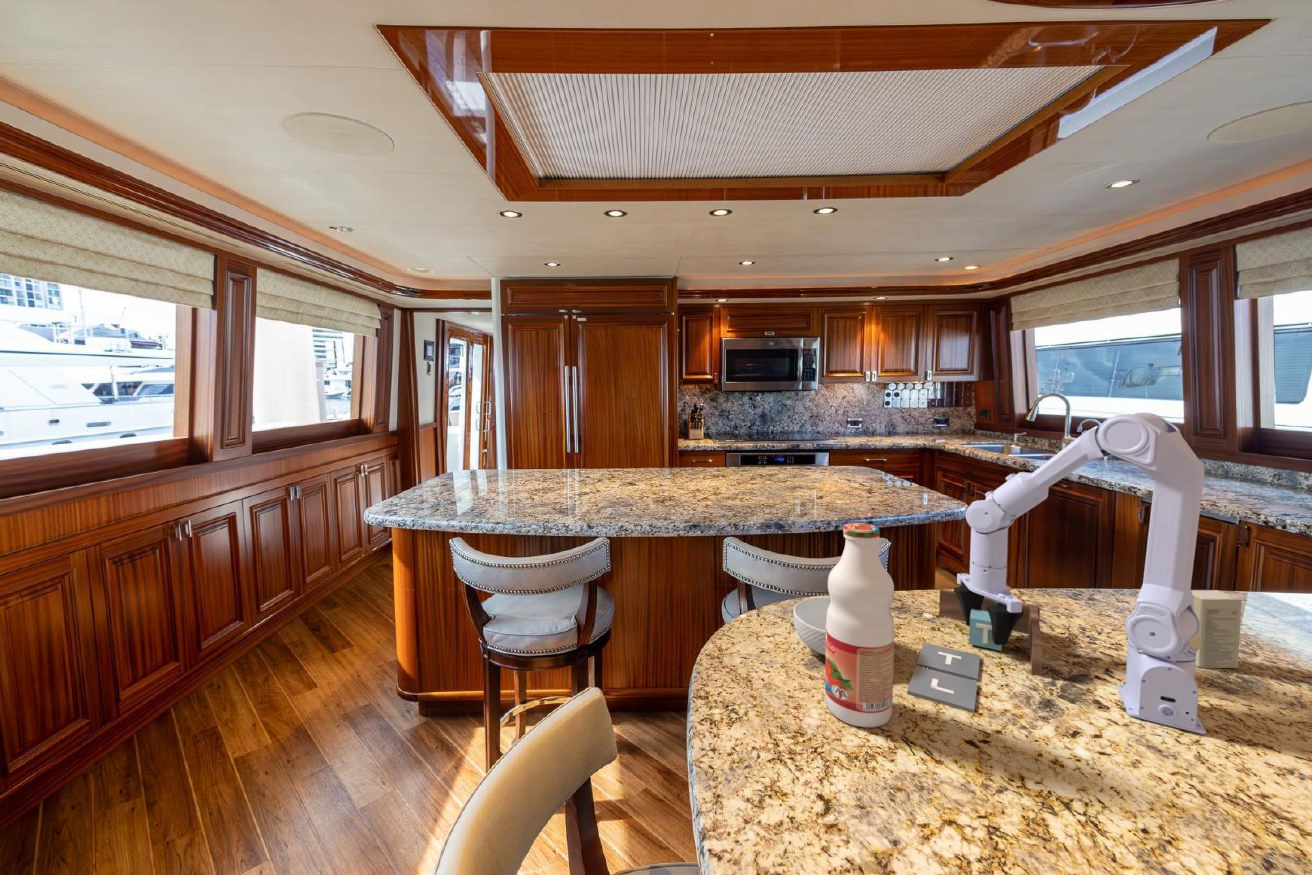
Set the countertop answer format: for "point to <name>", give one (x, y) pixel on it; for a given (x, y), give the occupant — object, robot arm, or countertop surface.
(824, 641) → the cereal bowl
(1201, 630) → the skincare box
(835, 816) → the countertop surface
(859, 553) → the fruit juice
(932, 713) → the countertop surface
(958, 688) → the tile
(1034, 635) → the walnut screen
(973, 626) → the light blue cube
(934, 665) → the tile
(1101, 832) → the countertop surface
